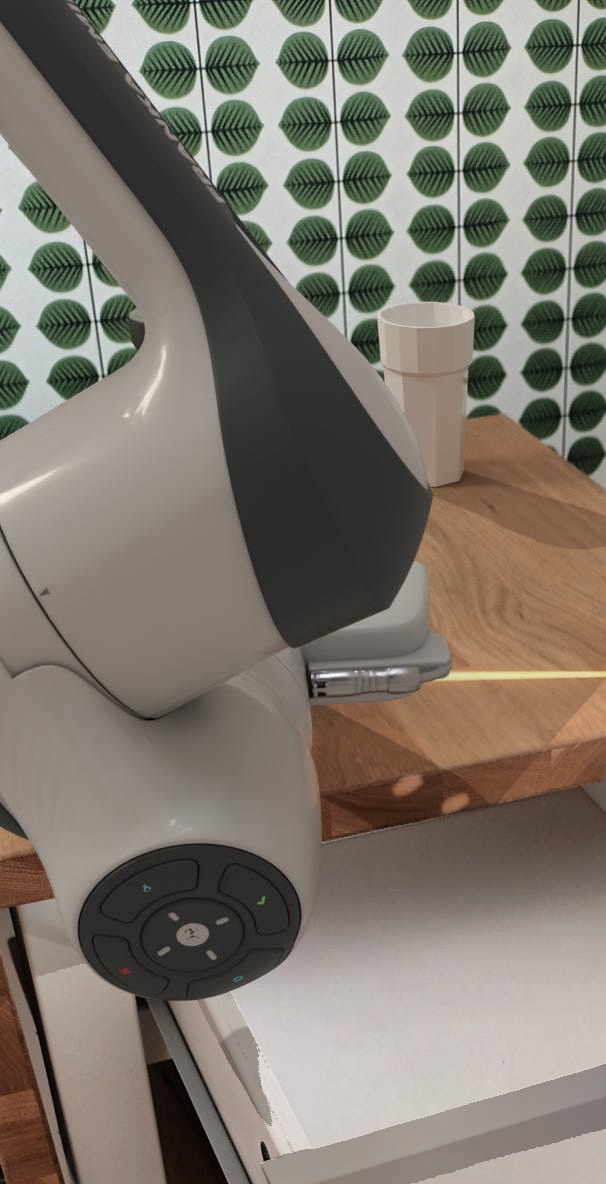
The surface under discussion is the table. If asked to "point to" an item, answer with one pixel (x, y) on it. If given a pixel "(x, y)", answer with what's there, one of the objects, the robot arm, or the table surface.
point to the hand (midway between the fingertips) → (197, 558)
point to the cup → (430, 378)
